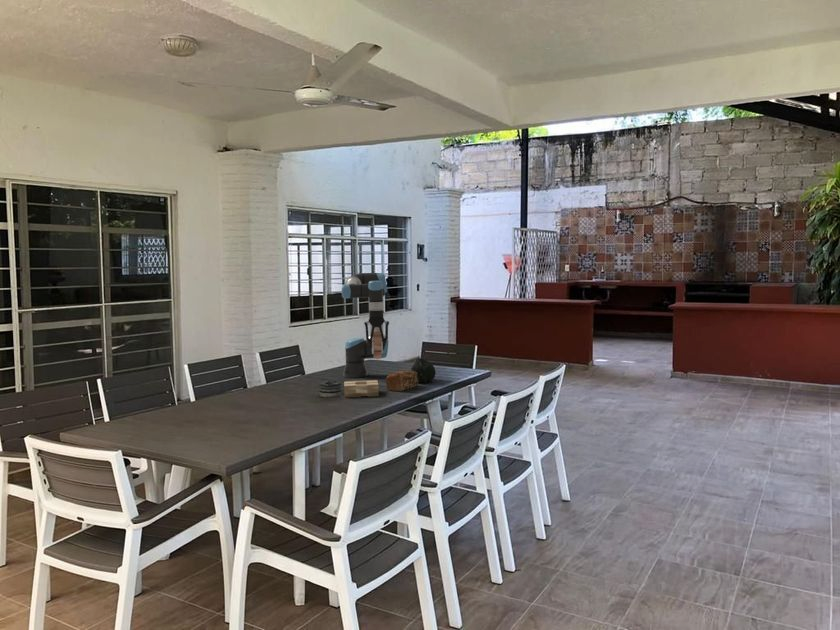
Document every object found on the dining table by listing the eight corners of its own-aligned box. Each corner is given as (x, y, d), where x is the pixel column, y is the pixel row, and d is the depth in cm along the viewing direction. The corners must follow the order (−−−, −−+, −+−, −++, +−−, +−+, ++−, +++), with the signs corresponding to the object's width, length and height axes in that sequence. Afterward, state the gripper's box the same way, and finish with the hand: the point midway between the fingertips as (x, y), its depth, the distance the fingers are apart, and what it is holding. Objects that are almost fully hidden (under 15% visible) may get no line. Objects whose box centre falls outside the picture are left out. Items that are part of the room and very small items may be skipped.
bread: (401, 392, 358) (400, 374, 357) (385, 390, 363) (384, 372, 362) (419, 386, 373) (418, 368, 372) (403, 384, 379) (403, 367, 378)
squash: (439, 370, 392) (422, 351, 391) (440, 375, 377) (422, 356, 376) (422, 385, 393) (405, 367, 392) (422, 392, 379) (404, 373, 377)
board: (344, 392, 360) (344, 381, 360) (377, 390, 362) (377, 380, 362) (344, 397, 346) (344, 386, 346) (378, 395, 348) (378, 384, 348)
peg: (373, 357, 354) (372, 331, 352) (381, 357, 354) (380, 331, 353) (374, 358, 350) (373, 332, 348) (381, 358, 350) (381, 332, 349)
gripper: (360, 311, 345) (361, 355, 347) (393, 309, 347) (394, 353, 349) (359, 309, 352) (361, 352, 354) (391, 308, 354) (392, 351, 357)
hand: (377, 353), depth 352 cm, fingers closed on peg, 4 cm apart
